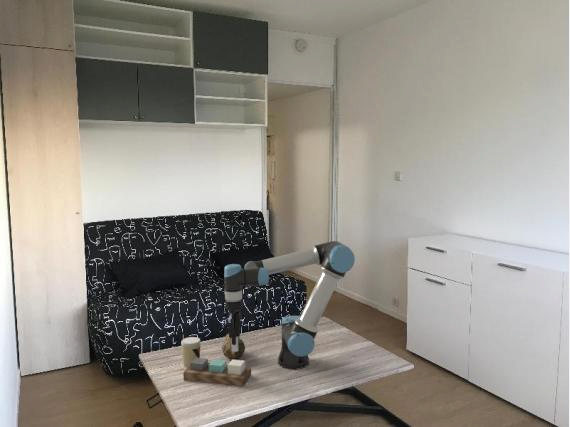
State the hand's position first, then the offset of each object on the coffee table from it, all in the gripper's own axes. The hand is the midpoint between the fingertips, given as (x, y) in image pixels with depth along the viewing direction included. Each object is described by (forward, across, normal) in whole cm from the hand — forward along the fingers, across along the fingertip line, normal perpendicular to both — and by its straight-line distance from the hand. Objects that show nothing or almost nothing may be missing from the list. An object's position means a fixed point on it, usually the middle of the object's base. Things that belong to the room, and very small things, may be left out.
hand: (235, 350), depth 211 cm
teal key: (+11, 0, -9) cm, 14 cm away
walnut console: (+13, 0, -9) cm, 16 cm away
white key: (+10, 0, 0) cm, 10 cm away
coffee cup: (+13, -10, -27) cm, 32 cm away
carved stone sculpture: (+14, -22, -9) cm, 27 cm away
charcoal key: (+11, 0, -18) cm, 21 cm away
